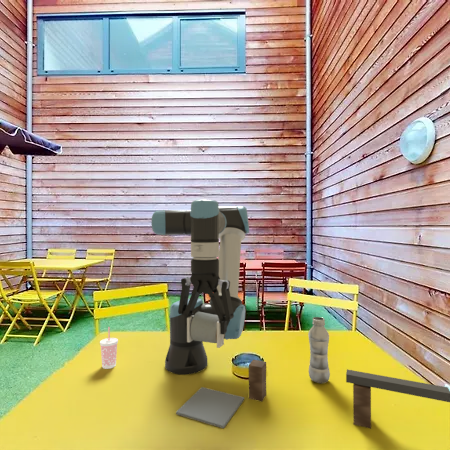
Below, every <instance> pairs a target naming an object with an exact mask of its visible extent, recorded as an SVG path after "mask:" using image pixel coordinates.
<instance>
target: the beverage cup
mask: <svg viewBox="0 0 450 450" xmlns="http://www.w3.org/2000/svg"><path fill="white" fill-rule="evenodd" d="M107 329H108V331H107V332H108V333H107V335H108V336H107V337H108V338H107V337H106V338H103V339H101V340H100V341H99V345H100V353H101V366H102V369H104V370H105V369H106V370H107V369H113V368H115V367H116V365H117V353H118V343H119V339H118V338H116V337H111V336H110V334H111V332H110V330H111V328H110V326H108V327H107Z"/></svg>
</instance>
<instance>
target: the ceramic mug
mask: <svg viewBox="0 0 450 450" xmlns="http://www.w3.org/2000/svg"><path fill="white" fill-rule="evenodd" d="M218 321H219V318H218V315H213V314H208V313H204V312H197V313H196V314H195V315H194V317H193V319H192V322H191V330H190V331H191V338H192V339H193V340H195V341H202V342H203V343H210V344H217V322H218ZM224 336H225V334H224Z"/></svg>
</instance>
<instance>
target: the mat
mask: <svg viewBox="0 0 450 450" xmlns="http://www.w3.org/2000/svg"><path fill="white" fill-rule="evenodd" d="M244 401H245V397H244V396H240V395H236V394H232V393H227V392H224V391H220V390H215V389H213V388H212V389H211V388H207V387H203V386H201V387H200V388H199V389H198V390H197V391H196V392H195V393H194V394H193V395H191V396H190V398H189V399H187V401H186V402H184V403H183V405H181V406H180V407H179V408H178V409H177V410H176V411H175V414H176V416H177V415H178V416H180V417H184V418H187V419H191V420H195V421H197V422H202V423H203V424H207V425H211V426H214V427H217V428H220V429H224V428H226V426H227V425H228V423H229V422H230V420H232V417H233V416H234V415H235V413H236V412H237V410H238V409H239V408H240V406H241V405H242V403H244Z"/></svg>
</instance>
